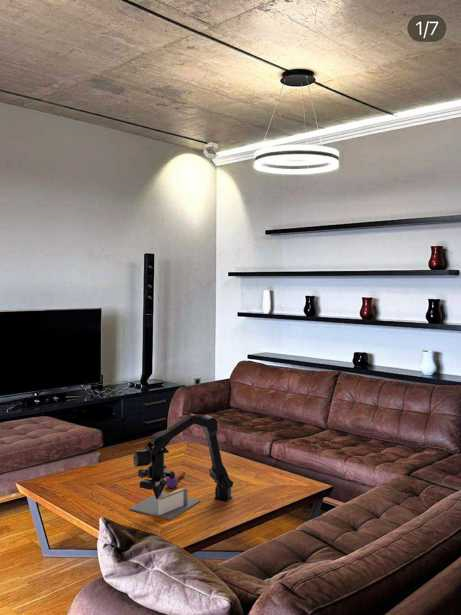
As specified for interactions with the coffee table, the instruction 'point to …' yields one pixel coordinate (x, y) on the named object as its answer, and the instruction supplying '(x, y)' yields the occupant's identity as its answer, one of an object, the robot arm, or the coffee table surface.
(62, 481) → the coffee table surface
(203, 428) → the robot arm
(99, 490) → the coffee table surface
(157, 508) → the flat gray base plate
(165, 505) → the gate
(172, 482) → the kendama
